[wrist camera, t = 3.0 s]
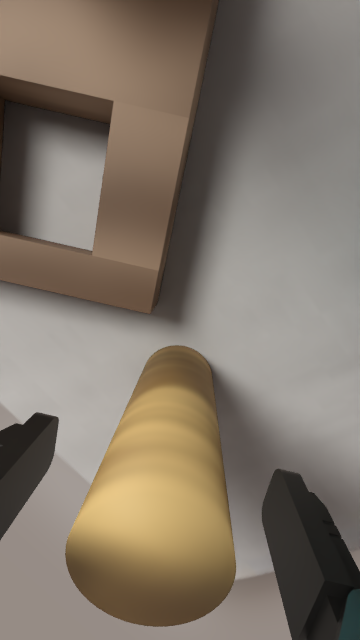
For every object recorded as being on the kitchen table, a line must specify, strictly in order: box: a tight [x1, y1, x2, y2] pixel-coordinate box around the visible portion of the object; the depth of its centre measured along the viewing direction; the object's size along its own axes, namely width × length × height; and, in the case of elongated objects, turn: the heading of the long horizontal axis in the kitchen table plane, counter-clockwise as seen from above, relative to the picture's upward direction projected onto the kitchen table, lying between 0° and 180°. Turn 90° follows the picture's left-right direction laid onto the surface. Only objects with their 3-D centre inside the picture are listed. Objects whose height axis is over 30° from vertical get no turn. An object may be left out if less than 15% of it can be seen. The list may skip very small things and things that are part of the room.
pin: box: [65, 345, 236, 627], centre depth 11 cm, size 4×4×10 cm
